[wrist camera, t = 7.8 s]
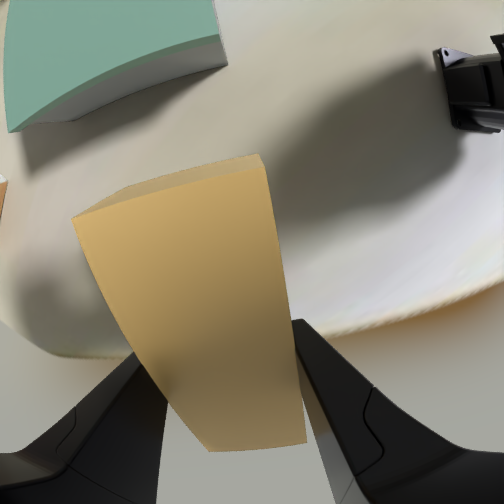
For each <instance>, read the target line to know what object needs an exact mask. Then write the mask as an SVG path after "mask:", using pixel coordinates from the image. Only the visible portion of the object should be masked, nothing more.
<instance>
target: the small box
mask: <svg viewBox="0 0 504 504" xmlns="http://www.w3.org/2000/svg"><path fill="white" fill-rule="evenodd" d="M7 184H8V180H7V179H5V178H4V177H3V176H2V175H1V174H0V216H1V211H2V205H3V200H4V195H5V191H6V188H7Z"/></svg>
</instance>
